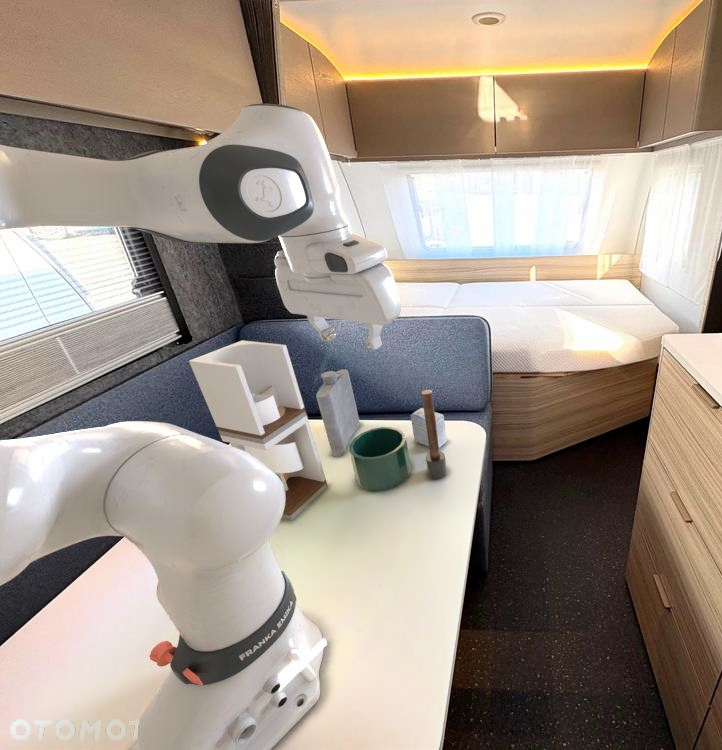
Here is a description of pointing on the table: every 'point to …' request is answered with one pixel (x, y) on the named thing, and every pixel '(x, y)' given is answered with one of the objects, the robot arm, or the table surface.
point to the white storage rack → (263, 414)
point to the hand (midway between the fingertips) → (351, 343)
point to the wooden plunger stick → (433, 440)
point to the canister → (380, 458)
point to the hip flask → (338, 409)
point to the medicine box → (421, 429)
